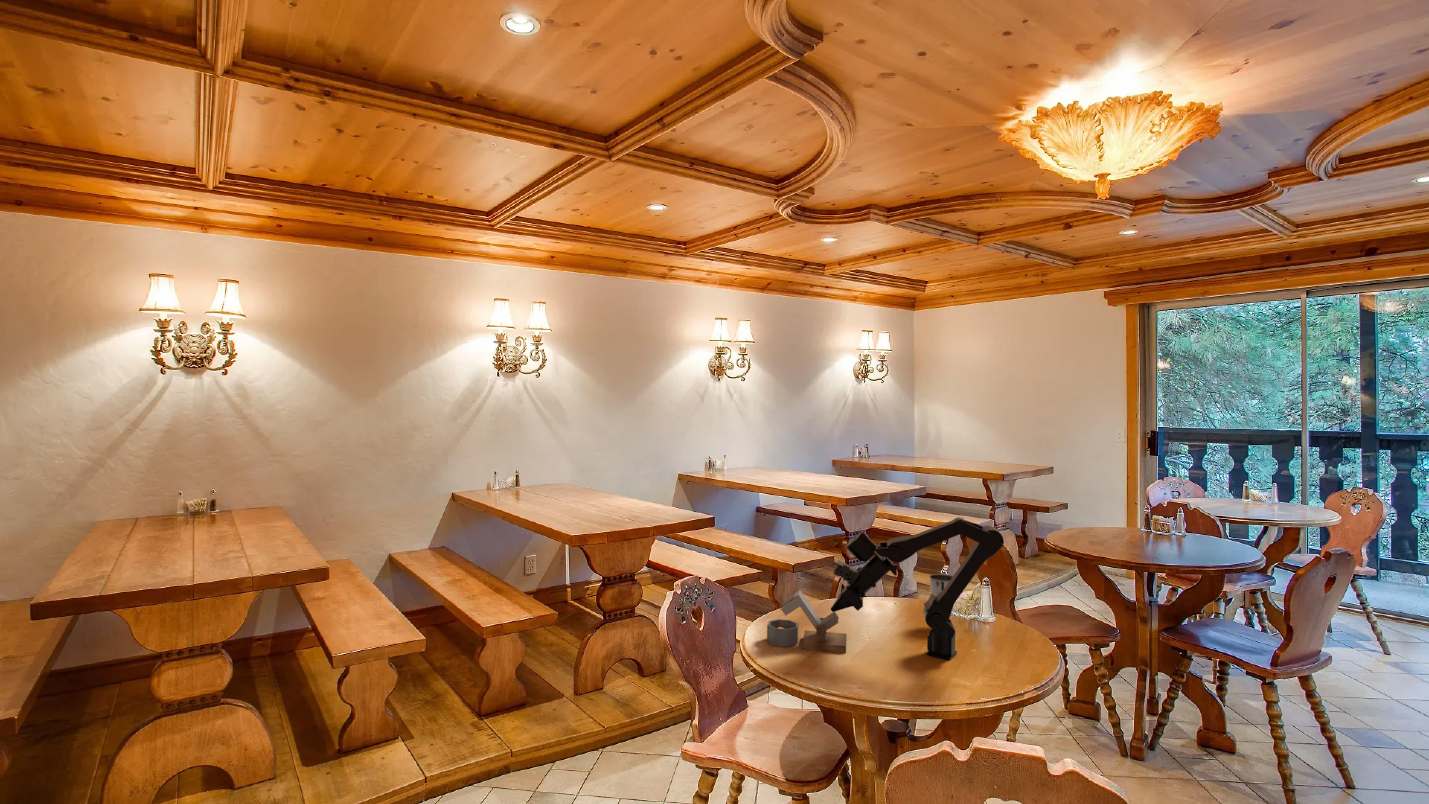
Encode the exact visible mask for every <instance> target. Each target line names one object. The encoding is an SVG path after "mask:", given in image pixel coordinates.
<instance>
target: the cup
mask: <svg viewBox="0 0 1429 804" xmlns="http://www.w3.org/2000/svg"><path fill="white" fill-rule="evenodd" d="M799 625H800V624H799V623H798V622H796V621H794V620H792V619H784V618H783V619H782V618H777V619H772V620H768V622H767V625H766V627H767V628H766V641H767V642H768V644H770V645H772V646H775V647H779V648H787V647H790V648H791V647H794V646H796V645H797V644H799V627H800V626H799ZM778 627H782V628H784V629H781V628H778Z"/></svg>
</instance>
